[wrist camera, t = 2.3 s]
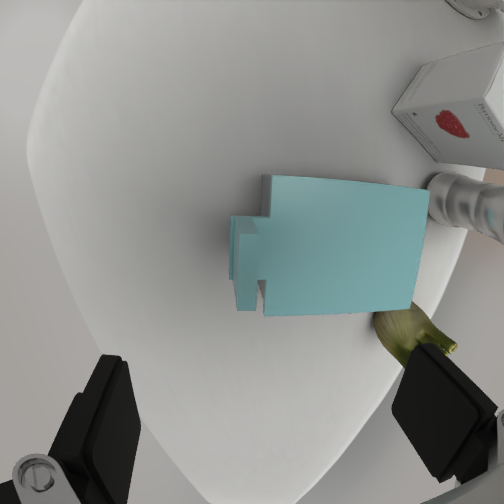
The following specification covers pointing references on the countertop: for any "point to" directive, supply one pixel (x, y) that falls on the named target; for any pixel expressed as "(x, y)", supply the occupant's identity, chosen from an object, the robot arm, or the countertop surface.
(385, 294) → the lid
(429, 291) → the countertop surface
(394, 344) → the fennel bulb
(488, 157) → the supplement box
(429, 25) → the countertop surface
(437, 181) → the plastic bottle
